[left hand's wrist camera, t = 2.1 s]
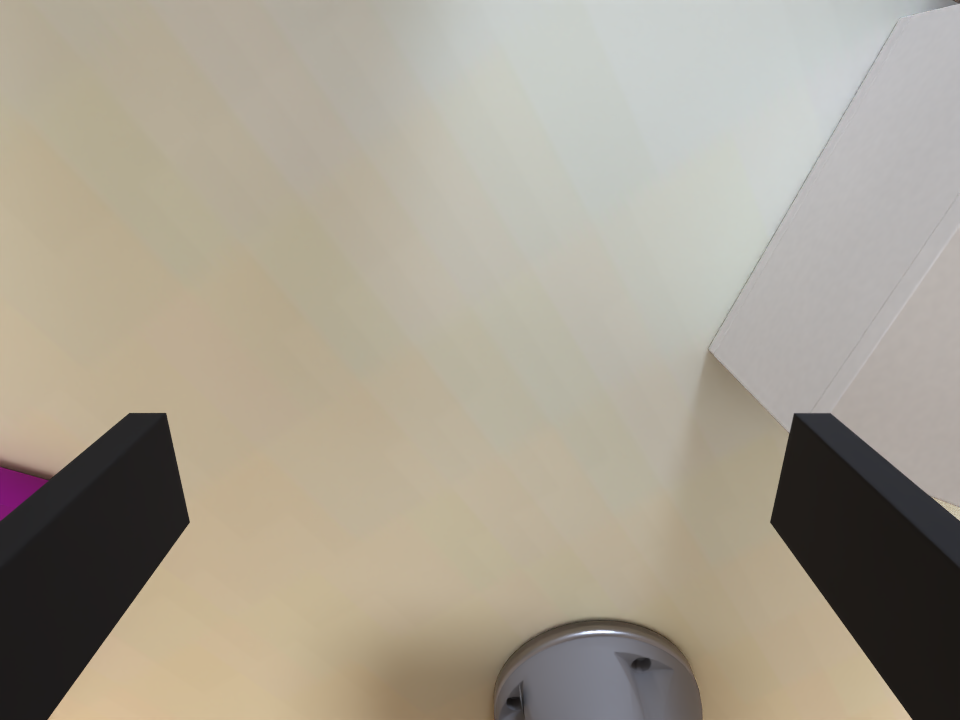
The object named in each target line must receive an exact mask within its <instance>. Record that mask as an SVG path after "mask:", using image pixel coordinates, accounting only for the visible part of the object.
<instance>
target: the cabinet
mask: <svg viewBox="0 0 960 720" xmlns="http://www.w3.org/2000/svg"><path fill="white" fill-rule="evenodd" d="M708 350H709V351H710V352H711V353H712V354H713V355H714V356H715V357H716V359H717V360H718V361H719V362H720V363H721V364H722V365H723V366H724V367H725V368H726V369H727V370H728V371H729V372H730V373H731V374H732V375H733V376H734V377H735V378H736V379H737V380H738V381H739V382H740V383H741V384H742V385H743V386H744V387H745V388H746V389H747V390H748V392H749V393H750V394H751V395H752V396H753V397H754V398H755V399H756V400H757V401H758V402H759V403H760V404H761V405H762V406H763V407H764V408H765V409H766V410H767V411H768V412H769V413H770V414H771V415H772V416H773V417H774V418H775V419H776V420H777V421H778V422H779V423H780V425H781V426H782V427H783V428H784V429H785V430H786V431H787V432H788V433H789V434H790V429H791V424H792V420H793V415H794V413H831V414H832V415H833V416H835V417H836V418H837V419H838V420H839V421H841V422H842V423H843V424H844V425H845V426H847V427H848V428H849V429H850V430H851V431H853V432H854V433H855V434H856V435H857V436H859V437H860V438H861V439H862V440H863V441H865V442H866V443H867V444H868V445H869V446H870V447H872V448H873V449H874V450H875V451H876V452H878V453H879V454H880V455H881V456H882V457H884V458H885V459H886V460H887V461H888V462H890V463H891V464H892V465H893V466H894V467H896V468H897V469H898V470H899V471H900V472H902V473H903V474H904V475H905V476H906V477H908V478H909V479H910V480H911V481H912V482H914V483H915V484H916V485H917V486H918V487H920V488H921V489H922V490H923V491H924V492H926V493H927V494H928V495H929V496H931V497H934V498H936V499H939V500H941V501H944V502H947V503H949V504H952V505H955V506H957V507H960V4H956V5H952V6H948V7H944V8H939V9H935V10H931V11H926V12H922V13H918V14H914V15H910V16H906V17H902V18H900V19H899V20H898V22H897V24H896V26H895V27H894V29H893V31H892V32H891V34H890V36H889V38H888V39H887V41H886V43H885V45H884V46H883V48H882V50H881V51H880V53H879V55H878V57H877V58H876V60H875V62H874V64H873V65H872V67H871V69H870V70H869V72H868V74H867V76H866V77H865V79H864V81H863V83H862V84H861V86H860V88H859V89H858V91H857V93H856V95H855V96H854V98H853V100H852V102H851V103H850V105H849V107H848V108H847V110H846V112H845V114H844V115H843V117H842V119H841V120H840V122H839V124H838V126H837V127H836V129H835V131H834V133H833V134H832V136H831V138H830V139H829V141H828V143H827V145H826V146H825V148H824V150H823V152H822V153H821V155H820V157H819V158H818V160H817V162H816V164H815V165H814V167H813V169H812V171H811V172H810V174H809V176H808V177H807V179H806V181H805V183H804V184H803V186H802V188H801V190H800V191H799V193H798V195H797V196H796V198H795V200H794V202H793V203H792V205H791V207H790V208H789V210H788V212H787V214H786V215H785V217H784V219H783V221H782V222H781V224H780V226H779V227H778V229H777V231H776V233H775V234H774V236H773V238H772V240H771V241H770V243H769V245H768V246H767V248H766V250H765V252H764V253H763V255H762V257H761V259H760V260H759V262H758V264H757V265H756V267H755V269H754V271H753V272H752V274H751V276H750V278H749V279H748V281H747V283H746V284H745V286H744V288H743V290H742V291H741V293H740V295H739V297H738V298H737V300H736V302H735V303H734V305H733V307H732V309H731V310H730V312H729V314H728V315H727V317H726V319H725V321H724V322H723V324H722V326H721V328H720V329H719V331H718V333H717V334H716V336H715V338H714V340H713V341H712V343H711V345H710V347H709V348H708Z"/></svg>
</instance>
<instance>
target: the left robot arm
mask: <svg viewBox="0 0 960 720" xmlns="http://www.w3.org/2000/svg"><path fill="white" fill-rule="evenodd" d="M189 523H190V521H189V516H188V512H187V507H186V503H185V498H184V493H183V489H182V484H181V480H180V475H179V470H178V466H177V461H176V457H175V452H174V447H173V443H172V438H171V434H170V429H169V424H168V420H167V415H166V413H129V414H128V415H127V416H125V417H124V418H123V419H122V420H121V421H119V422H118V423H117V424H116V425H115V426H113V427H112V428H111V429H110V430H109V431H107V432H106V433H105V434H104V435H103V436H101V437H100V438H99V439H98V440H97V441H95V442H94V443H93V444H92V445H91V446H90V447H88V448H87V449H86V450H85V451H84V452H82V453H81V454H80V455H79V456H78V457H76V458H75V459H74V460H73V461H72V462H70V463H69V464H68V465H67V466H66V467H64V468H63V469H62V470H61V471H60V472H58V473H57V474H56V475H55V476H54V477H52V478H51V479H50V480H49V481H48V482H46V483H45V484H44V485H43V486H42V487H40V488H39V489H38V490H37V491H36V492H34V493H33V494H32V495H31V496H30V497H28V498H27V499H26V500H25V501H24V502H23V503H21V504H20V505H19V506H18V507H17V508H15V509H14V510H13V511H12V512H11V513H9V514H8V515H7V516H6V517H5V518H3V519H2V520H1V521H0V720H48V718H49V717H50V715H51V714H52V713H53V711H54V710H55V708H56V707H57V706H58V704H59V703H60V701H61V700H62V699H63V697H64V696H65V695H66V693H67V692H68V690H69V689H70V688H71V686H72V685H73V683H74V682H75V681H76V679H77V678H78V677H79V675H80V674H81V672H82V671H83V670H84V668H85V667H86V665H87V664H88V663H89V661H90V660H91V659H92V657H93V656H94V654H95V653H96V652H97V650H98V649H99V647H100V646H101V645H102V643H103V642H104V641H105V639H106V638H107V636H108V635H109V634H110V632H111V631H112V629H113V628H114V627H115V625H116V624H117V622H118V621H119V620H120V618H121V617H122V616H123V614H124V613H125V611H126V610H127V609H128V607H129V606H130V604H131V603H132V602H133V600H134V599H135V598H136V596H137V595H138V593H139V592H140V591H141V589H142V588H143V586H144V585H145V584H146V582H147V581H148V580H149V578H150V577H151V575H152V574H153V573H154V571H155V570H156V568H157V567H158V566H159V564H160V563H161V562H162V560H163V559H164V557H165V556H166V555H167V553H168V552H169V550H170V549H171V548H172V546H173V545H174V543H175V542H176V541H177V539H178V538H179V537H180V535H181V534H182V532H183V531H184V530H185V528H186V527H187V525H188V524H189ZM770 523H771V524H772V525H773V527H774V528H775V530H776V531H777V532H778V534H779V535H780V537H781V538H782V539H783V541H784V542H785V543H786V545H787V546H788V548H789V549H790V550H791V552H792V553H793V555H794V556H795V557H796V559H797V560H798V562H799V563H800V564H801V566H802V567H803V568H804V570H805V571H806V573H807V574H808V575H809V577H810V578H811V580H812V581H813V582H814V584H815V585H816V586H817V588H818V589H819V591H820V592H821V593H822V595H823V596H824V598H825V599H826V600H827V602H828V603H829V604H830V606H831V607H832V609H833V610H834V611H835V613H836V614H837V616H838V617H839V618H840V620H841V621H842V622H843V624H844V625H845V627H846V628H847V629H848V631H849V632H850V634H851V635H852V636H853V638H854V639H855V641H856V642H857V643H858V645H859V646H860V647H861V649H862V650H863V652H864V653H865V654H866V656H867V657H868V659H869V660H870V661H871V663H872V664H873V665H874V667H875V668H876V670H877V671H878V672H879V674H880V675H881V677H882V678H883V679H884V681H885V682H886V683H887V685H888V686H889V688H890V689H891V690H892V692H893V693H894V695H895V696H896V697H897V699H898V700H899V701H900V703H901V704H902V706H903V707H904V708H905V710H906V711H907V713H908V714H909V715H910V717H911V718H912V720H960V521H959V520H958V519H957V518H955V517H954V516H953V515H952V514H951V513H949V512H948V511H947V510H946V509H945V508H943V507H942V506H941V505H940V504H939V503H937V502H936V501H935V500H934V499H933V498H931V497H930V496H929V495H928V494H927V493H926V492H924V491H923V490H922V489H921V488H920V487H918V486H917V485H916V484H915V483H914V482H912V481H911V480H910V479H909V478H908V477H906V476H905V475H904V474H903V473H902V472H900V471H899V470H898V469H897V468H896V467H894V466H893V465H892V464H891V463H890V462H888V461H887V460H886V459H885V458H884V457H882V456H881V455H880V454H879V453H878V452H876V451H875V450H874V449H873V448H872V447H870V446H869V445H868V444H867V443H866V442H865V441H863V440H862V439H861V438H860V437H859V436H857V435H856V434H855V433H854V432H853V431H851V430H850V429H849V428H848V427H847V426H845V425H844V424H843V423H842V422H841V421H839V420H838V419H837V418H836V417H835V416H833V415H832V414H831V413H794V415H793V420H792V424H791V429H790V434H789V438H788V443H787V447H786V452H785V457H784V461H783V466H782V470H781V475H780V480H779V484H778V489H777V493H776V498H775V503H774V507H773V512H772V516H771V521H770ZM494 717H495V720H702V704H701V699H700V693H699V689H698V686H697V683H696V680H695V678H694V675H693V672H692V670H691V667H690V665H689V663H688V661H687V660H686V658H685V657H684V655H683V654H682V653H681V651H680V650H679V649H678V648H677V647H676V646H675V645H674V644H672V643H671V642H670V641H669V640H667V639H666V638H664V637H663V636H661V635H659V634H658V633H656V632H653V631H651V630H649V629H646V628H644V627H641V626H637V625H634V624H630V623H624V622H618V621H601V620H599V621H585V622H577V623H572V624H568V625H564V626H561V627H557V628H555V629H552V630H549V631H547V632H545V633H543V634H540V635H538V636H537V637H535V638H533V639H531V640H530V641H528V642H527V643H526V644H524V645H523V646H522V647H520V648H519V649H518V650H517V651H516V652H515V653H514V654H513V655H512V656H511V657H510V658H509V659H508V661H507V662H506V663H505V665H504V666H503V668H502V669H501V671H500V673H499V676H498V678H497V681H496V684H495V690H494Z"/></svg>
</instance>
